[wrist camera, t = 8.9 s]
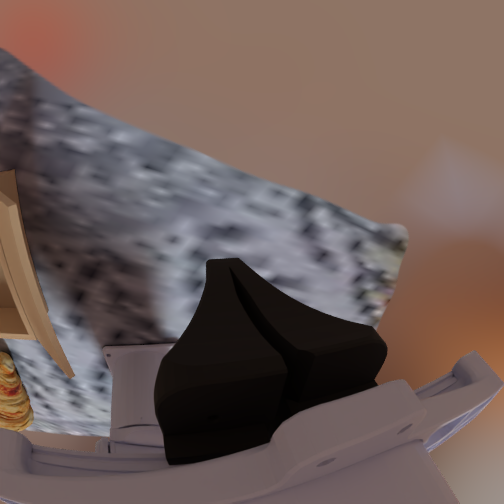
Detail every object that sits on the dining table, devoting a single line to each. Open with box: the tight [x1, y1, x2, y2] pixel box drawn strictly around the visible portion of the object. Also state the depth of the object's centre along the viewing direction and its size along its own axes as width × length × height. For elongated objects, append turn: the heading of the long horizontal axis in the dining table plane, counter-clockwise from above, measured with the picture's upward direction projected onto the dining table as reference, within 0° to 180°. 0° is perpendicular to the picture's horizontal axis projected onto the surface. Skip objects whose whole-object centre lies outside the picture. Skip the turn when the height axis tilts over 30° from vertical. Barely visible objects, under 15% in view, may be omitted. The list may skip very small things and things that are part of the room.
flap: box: [0, 191, 75, 379], centre depth 14 cm, size 12×6×1 cm
